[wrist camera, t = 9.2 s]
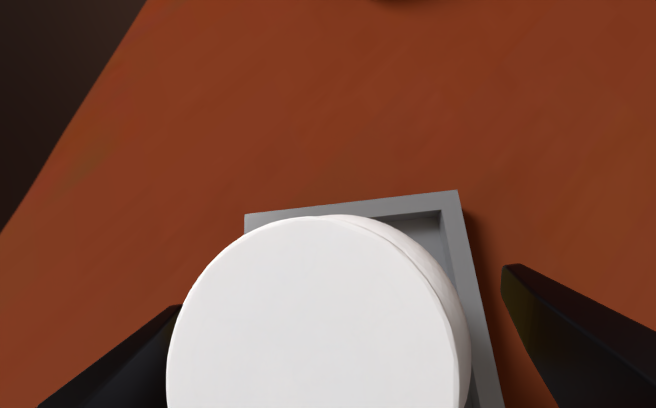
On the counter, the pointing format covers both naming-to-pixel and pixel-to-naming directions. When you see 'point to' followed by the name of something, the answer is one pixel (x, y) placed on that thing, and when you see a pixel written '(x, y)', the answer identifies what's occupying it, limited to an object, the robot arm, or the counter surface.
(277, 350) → the supplement bottle
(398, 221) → the tray
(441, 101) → the counter surface
